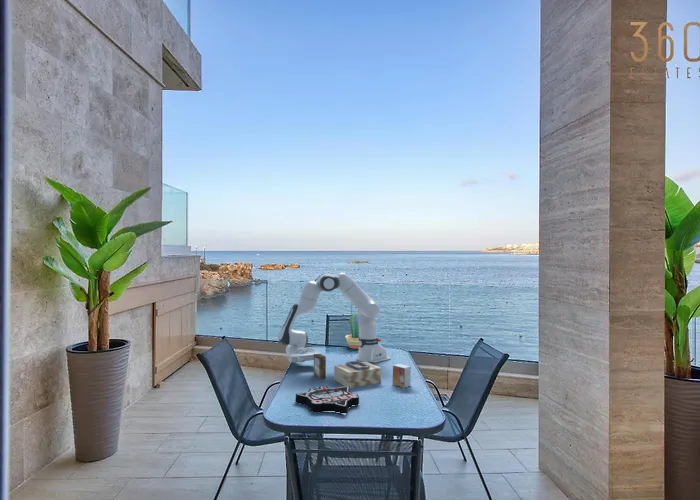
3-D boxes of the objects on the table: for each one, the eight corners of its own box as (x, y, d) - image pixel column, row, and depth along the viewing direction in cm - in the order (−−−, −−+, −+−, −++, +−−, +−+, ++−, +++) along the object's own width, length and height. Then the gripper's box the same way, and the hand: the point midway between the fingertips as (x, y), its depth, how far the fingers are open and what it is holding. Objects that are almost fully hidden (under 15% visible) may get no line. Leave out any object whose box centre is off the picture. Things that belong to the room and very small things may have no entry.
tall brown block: (319, 374, 250) (319, 353, 250) (325, 378, 243) (325, 356, 243) (313, 375, 248) (313, 354, 248) (319, 378, 241) (320, 357, 241)
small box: (392, 385, 232) (392, 365, 232) (398, 382, 236) (398, 363, 236) (404, 388, 226) (404, 368, 226) (410, 386, 230) (411, 366, 230)
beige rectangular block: (365, 375, 249) (365, 358, 249) (380, 382, 235) (381, 365, 235) (334, 380, 239) (334, 362, 239) (349, 388, 225) (349, 369, 225)
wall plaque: (343, 383, 221) (373, 401, 195) (343, 391, 221) (373, 410, 195) (291, 390, 208) (315, 411, 182) (291, 399, 208) (315, 421, 182)
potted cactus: (345, 349, 314) (345, 314, 314) (344, 344, 329) (345, 311, 329) (366, 349, 314) (367, 315, 314) (365, 345, 330) (365, 312, 330)
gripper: (284, 351, 262) (293, 356, 250) (315, 348, 273) (325, 352, 261) (284, 361, 262) (293, 367, 250) (315, 358, 273) (325, 363, 261)
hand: (310, 359), depth 256 cm, fingers open, 8 cm apart
